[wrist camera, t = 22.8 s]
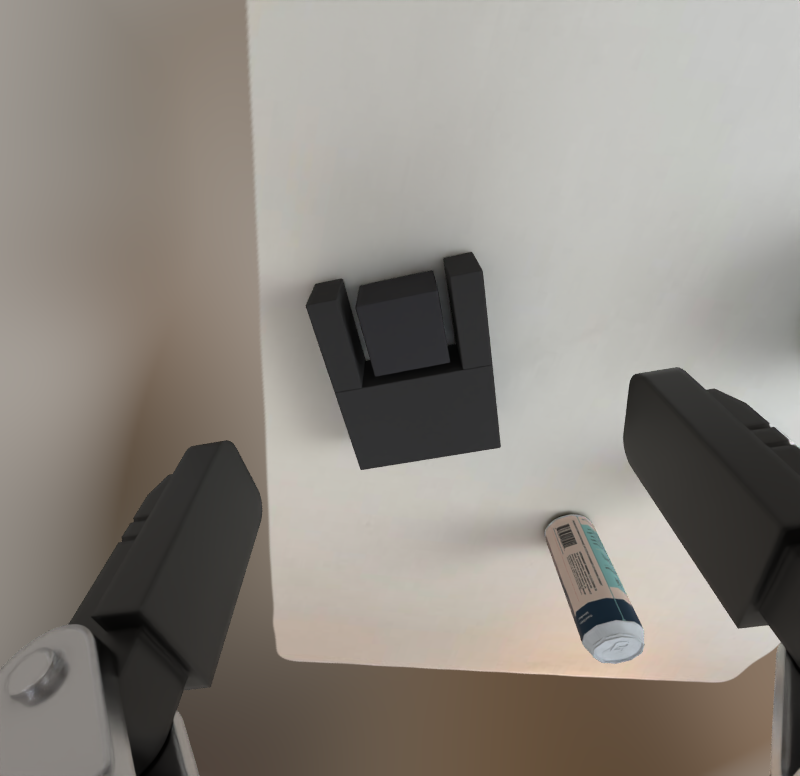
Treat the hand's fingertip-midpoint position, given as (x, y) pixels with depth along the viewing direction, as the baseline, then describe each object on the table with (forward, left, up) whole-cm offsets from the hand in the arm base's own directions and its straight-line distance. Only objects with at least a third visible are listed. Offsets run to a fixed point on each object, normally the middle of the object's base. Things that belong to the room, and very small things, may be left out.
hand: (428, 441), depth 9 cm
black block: (+3, -6, -23) cm, 24 cm away
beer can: (+29, -18, -23) cm, 41 cm away
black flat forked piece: (+5, -9, -23) cm, 25 cm away
